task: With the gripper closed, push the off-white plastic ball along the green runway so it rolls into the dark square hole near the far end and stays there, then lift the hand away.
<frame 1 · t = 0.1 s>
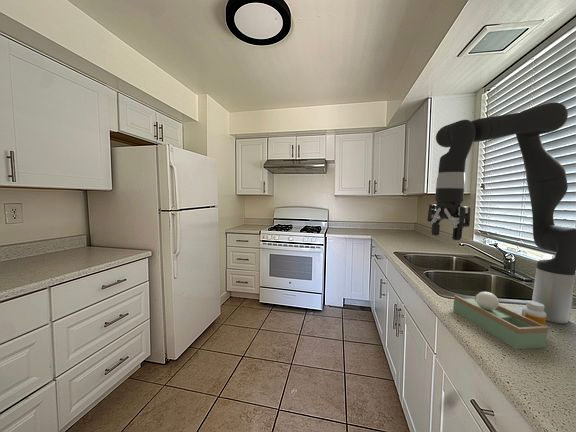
hand: (445, 237, 77), 29 cm above the countertop, tool pointing down, fingers open, 8 cm apart
runway: (493, 326, 79), on the countertop
supplement bottle: (531, 333, 76), on the countertop
ball: (487, 300, 81), point 7 cm above the countertop, touching runway
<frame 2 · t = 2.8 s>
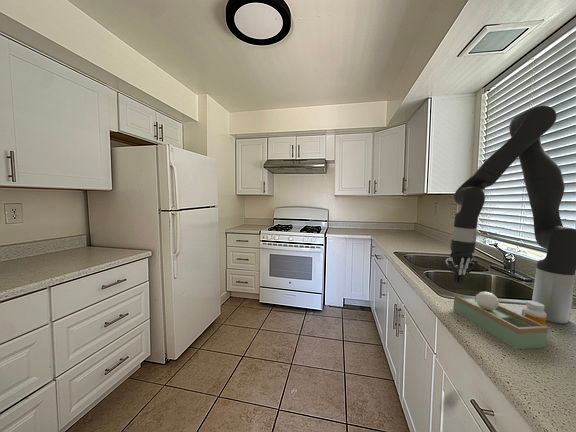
hand: (458, 283, 92), 9 cm above the countertop, tool pointing down, fingers closed
nothing on the countertop moved.
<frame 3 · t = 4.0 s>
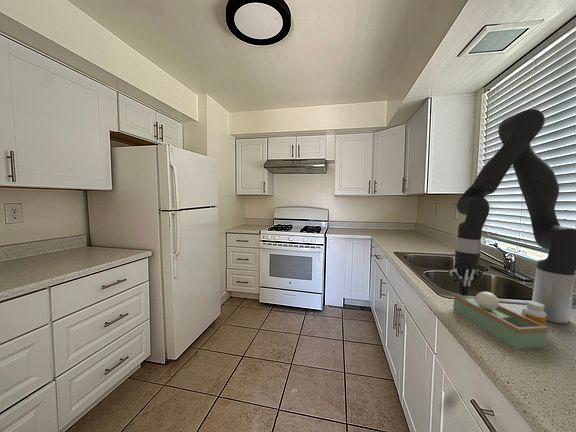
hand: (463, 294, 90), 5 cm above the countertop, tool pointing down, fingers closed
nothing on the countertop moved.
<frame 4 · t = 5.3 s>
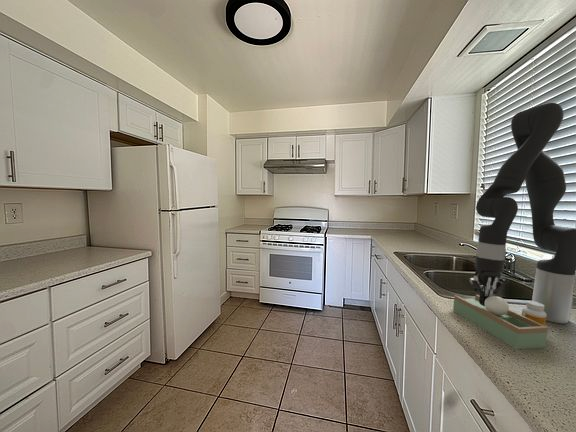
hand: (484, 305, 82), 6 cm above the countertop, tool pointing down, fingers closed
ball: (496, 305, 78), point 7 cm above the countertop, tilted 52°, touching gripper, runway
everything else where it was.
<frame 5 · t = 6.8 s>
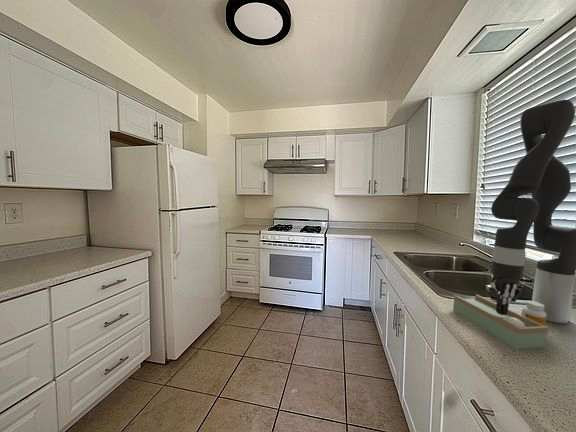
hand: (501, 313, 76), 6 cm above the countertop, tool pointing down, fingers closed
ball: (512, 327, 72), point 3 cm above the countertop, tilted 172°, touching runway
everything else where it was.
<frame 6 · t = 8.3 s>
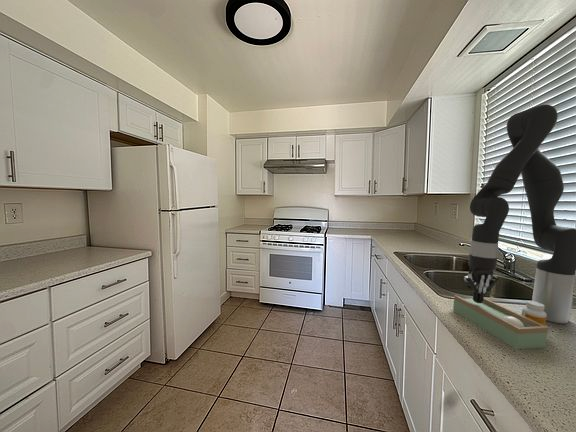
hand: (477, 302, 84), 6 cm above the countertop, tool pointing down, fingers closed
ball: (511, 326, 73), point 3 cm above the countertop, tilted 163°, touching runway
everything else where it was.
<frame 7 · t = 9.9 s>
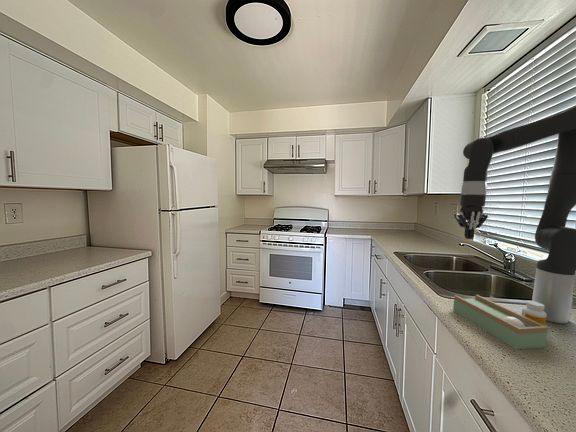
hand: (468, 238, 92), 27 cm above the countertop, tool pointing down, fingers closed
nothing on the countertop moved.
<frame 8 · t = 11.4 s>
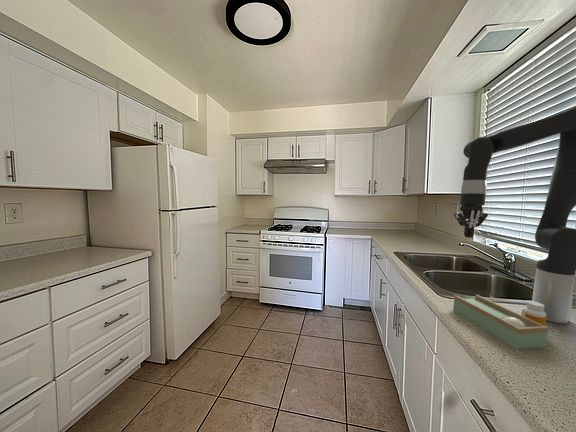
hand: (468, 237, 92), 27 cm above the countertop, tool pointing down, fingers closed
nothing on the countertop moved.
at the end: ball 0.3 cm from the target spot on the runway, point 3.3 cm above the runway's base; the gripper is holding nothing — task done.
